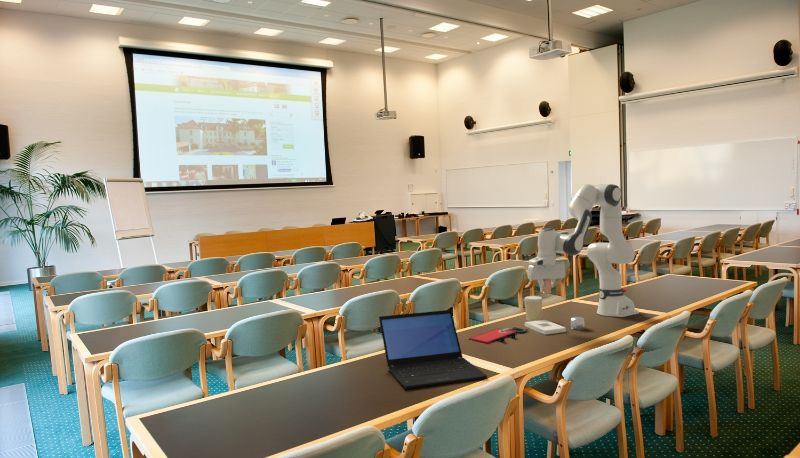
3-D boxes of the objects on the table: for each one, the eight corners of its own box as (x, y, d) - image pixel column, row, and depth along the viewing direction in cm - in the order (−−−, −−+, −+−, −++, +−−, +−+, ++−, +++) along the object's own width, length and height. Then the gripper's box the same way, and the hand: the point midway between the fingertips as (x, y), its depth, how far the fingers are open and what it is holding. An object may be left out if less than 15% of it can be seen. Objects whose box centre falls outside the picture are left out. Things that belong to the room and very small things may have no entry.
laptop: (404, 391, 198) (402, 339, 197) (379, 360, 234) (378, 316, 233) (488, 379, 207) (487, 329, 206) (452, 351, 243) (451, 308, 242)
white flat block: (544, 323, 284) (544, 319, 284) (565, 331, 267) (565, 327, 267) (524, 325, 280) (524, 322, 280) (544, 334, 263) (544, 330, 263)
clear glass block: (578, 326, 277) (578, 316, 277) (587, 329, 271) (586, 319, 270) (568, 327, 275) (568, 317, 275) (576, 330, 269) (576, 320, 268)
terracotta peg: (547, 292, 276) (547, 278, 276) (552, 293, 273) (552, 279, 272) (541, 292, 275) (541, 278, 275) (545, 294, 271) (545, 280, 271)
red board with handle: (532, 332, 269) (507, 327, 280) (531, 326, 269) (507, 322, 280) (493, 346, 249) (468, 341, 260) (493, 340, 249) (468, 335, 260)
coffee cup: (541, 317, 297) (540, 295, 296) (544, 321, 287) (543, 299, 286) (523, 317, 298) (523, 295, 297) (526, 322, 288) (525, 299, 287)
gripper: (560, 258, 279) (560, 285, 280) (525, 260, 273) (525, 288, 274) (568, 260, 273) (568, 287, 274) (532, 262, 267) (532, 290, 268)
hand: (546, 287), depth 274 cm, fingers closed on terracotta peg, 4 cm apart
